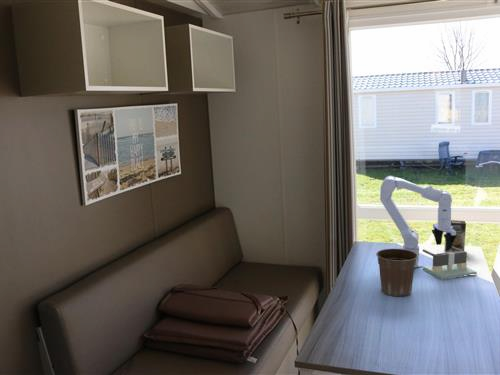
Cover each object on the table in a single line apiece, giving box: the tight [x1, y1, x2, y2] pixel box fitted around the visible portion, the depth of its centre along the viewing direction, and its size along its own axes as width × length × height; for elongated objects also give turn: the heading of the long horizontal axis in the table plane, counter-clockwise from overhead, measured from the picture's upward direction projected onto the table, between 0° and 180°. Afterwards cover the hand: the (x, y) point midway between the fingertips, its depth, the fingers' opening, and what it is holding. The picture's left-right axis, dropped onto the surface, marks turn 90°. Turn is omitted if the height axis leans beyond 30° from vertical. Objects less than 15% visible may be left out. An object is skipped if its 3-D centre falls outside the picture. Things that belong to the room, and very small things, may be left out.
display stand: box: [422, 262, 478, 281], centre depth 235 cm, size 18×14×4 cm
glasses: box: [422, 246, 468, 267], centre depth 238 cm, size 16×10×5 cm, turn 106°
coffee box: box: [444, 219, 467, 253], centre depth 263 cm, size 9×6×16 cm
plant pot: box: [375, 248, 418, 297], centre depth 214 cm, size 16×16×16 cm
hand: (443, 246), depth 240 cm, fingers open, 7 cm apart
